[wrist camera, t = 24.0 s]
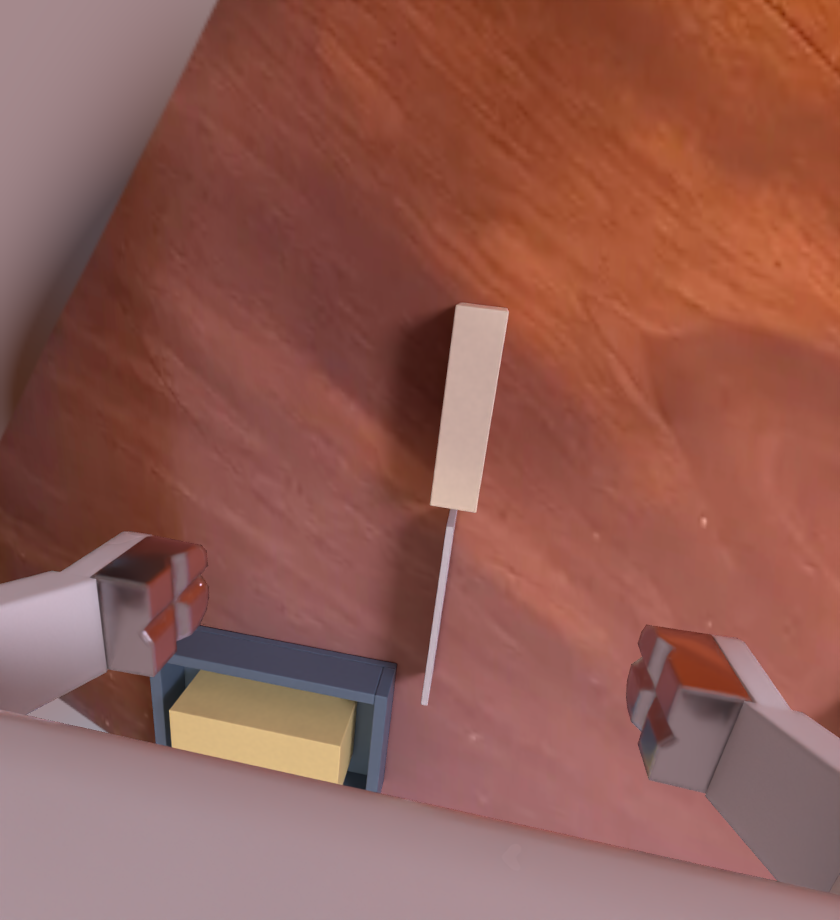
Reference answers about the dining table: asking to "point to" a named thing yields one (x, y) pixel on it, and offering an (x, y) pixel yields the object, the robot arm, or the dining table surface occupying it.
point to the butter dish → (292, 670)
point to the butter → (265, 726)
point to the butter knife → (464, 430)
